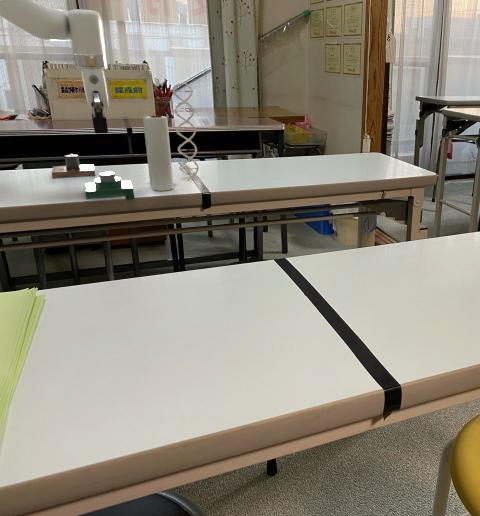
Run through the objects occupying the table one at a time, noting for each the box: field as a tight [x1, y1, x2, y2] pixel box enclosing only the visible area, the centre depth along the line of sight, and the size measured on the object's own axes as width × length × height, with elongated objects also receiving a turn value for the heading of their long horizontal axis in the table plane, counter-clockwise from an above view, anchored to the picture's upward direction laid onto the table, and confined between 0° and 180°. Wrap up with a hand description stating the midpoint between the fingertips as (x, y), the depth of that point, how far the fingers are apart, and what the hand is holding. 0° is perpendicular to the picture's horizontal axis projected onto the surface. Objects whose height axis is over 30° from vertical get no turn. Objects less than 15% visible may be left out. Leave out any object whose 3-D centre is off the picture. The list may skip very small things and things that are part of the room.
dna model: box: [171, 82, 200, 182], centre depth 164 cm, size 7×6×30 cm
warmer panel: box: [51, 163, 96, 179], centre depth 166 cm, size 12×10×3 cm
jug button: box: [98, 171, 116, 181], centre depth 143 cm, size 4×4×2 cm
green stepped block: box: [84, 176, 135, 201], centre depth 144 cm, size 12×10×5 cm
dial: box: [64, 153, 81, 169], centre depth 165 cm, size 4×4×4 cm
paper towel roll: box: [142, 115, 175, 192], centre depth 152 cm, size 7×6×21 cm
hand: (100, 130), depth 139 cm, fingers open, 8 cm apart
